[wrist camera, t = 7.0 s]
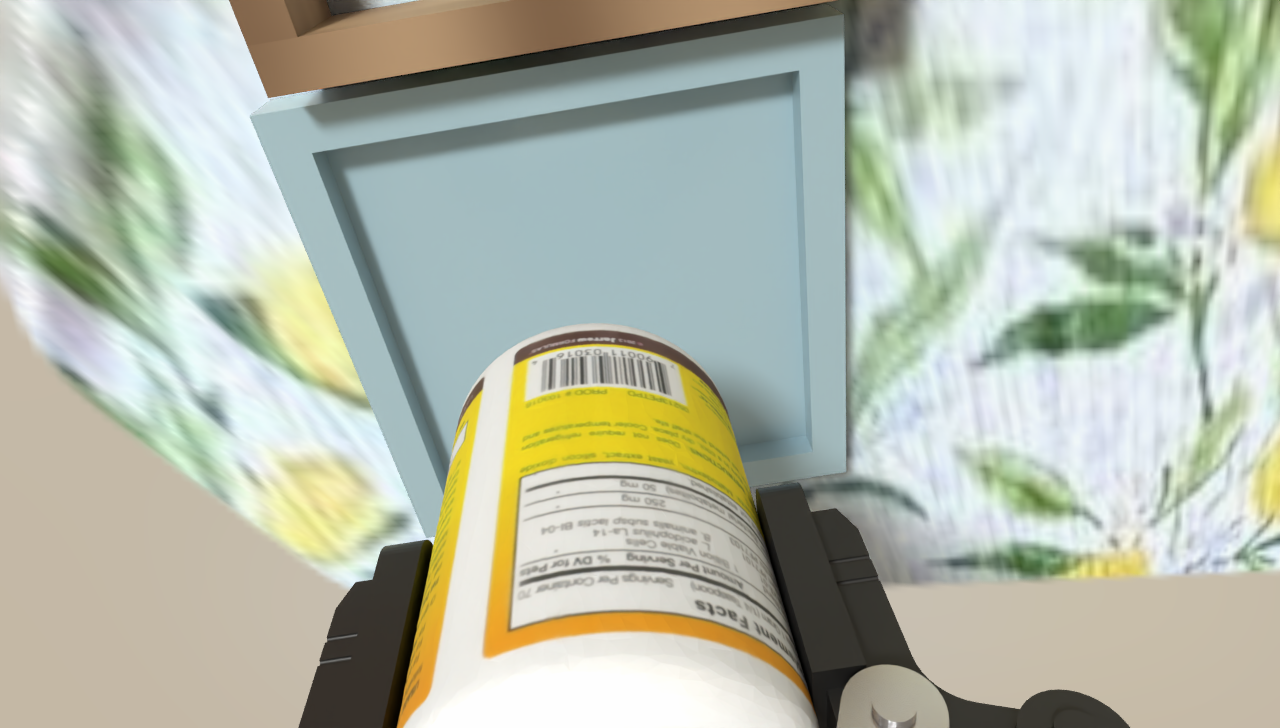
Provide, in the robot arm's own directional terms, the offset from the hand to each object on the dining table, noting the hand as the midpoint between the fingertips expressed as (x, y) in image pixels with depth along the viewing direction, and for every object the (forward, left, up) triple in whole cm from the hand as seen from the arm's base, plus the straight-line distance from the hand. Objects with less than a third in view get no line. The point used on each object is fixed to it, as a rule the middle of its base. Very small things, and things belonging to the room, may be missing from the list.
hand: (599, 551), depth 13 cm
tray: (0, 0, -10) cm, 10 cm away
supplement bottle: (0, 0, -4) cm, 4 cm away
